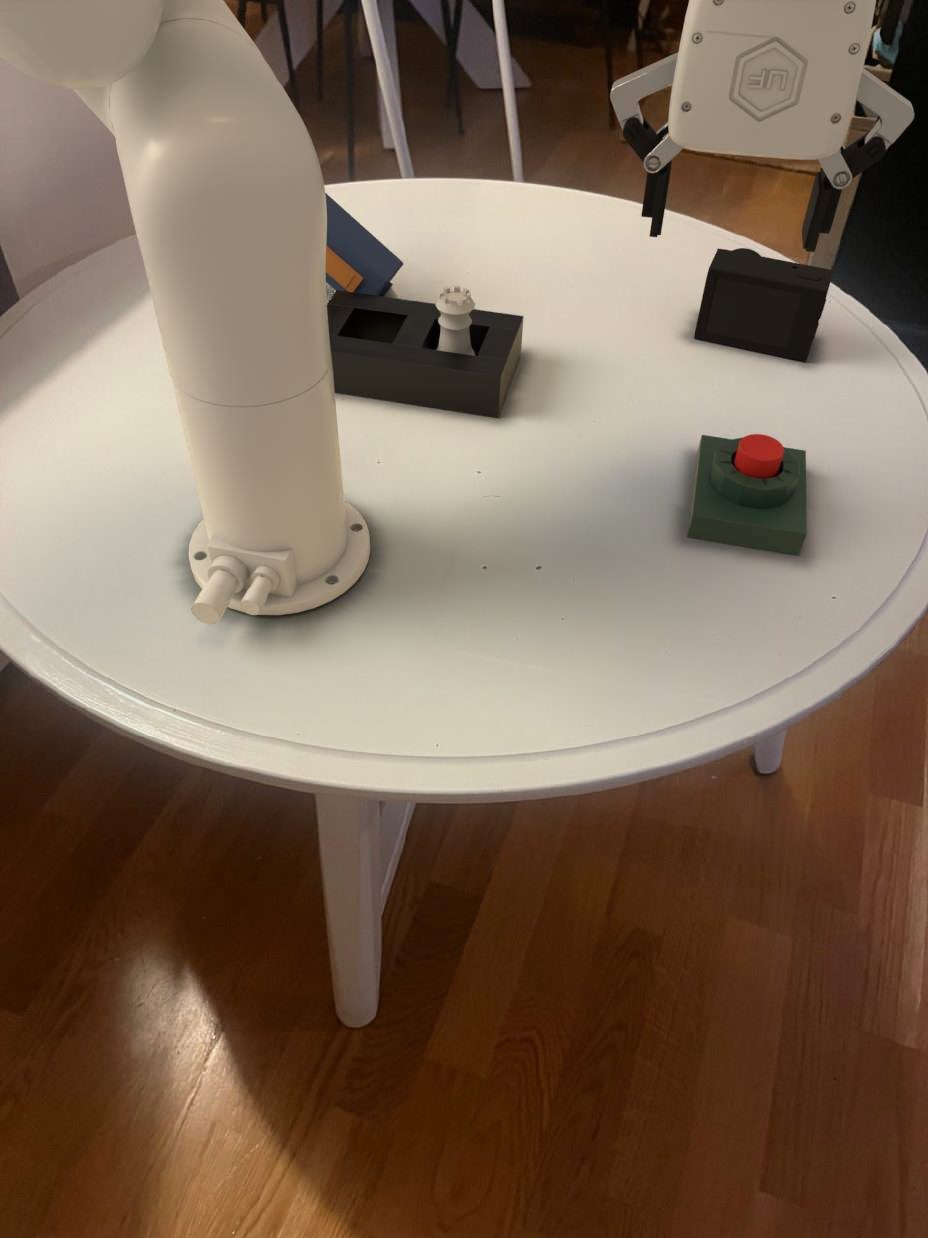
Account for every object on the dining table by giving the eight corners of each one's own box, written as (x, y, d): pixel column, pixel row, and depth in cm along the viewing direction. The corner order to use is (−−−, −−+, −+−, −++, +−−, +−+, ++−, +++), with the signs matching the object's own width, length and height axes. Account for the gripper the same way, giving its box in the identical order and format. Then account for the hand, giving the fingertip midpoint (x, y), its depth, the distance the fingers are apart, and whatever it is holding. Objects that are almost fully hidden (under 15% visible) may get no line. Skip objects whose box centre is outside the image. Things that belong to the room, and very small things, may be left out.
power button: (777, 483, 70) (784, 463, 69) (733, 475, 71) (738, 456, 69) (778, 456, 72) (784, 437, 71) (734, 449, 73) (740, 430, 72)
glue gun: (343, 403, 100) (423, 310, 89) (68, 201, 89) (123, 69, 79) (361, 369, 103) (440, 275, 93) (100, 171, 93) (156, 41, 83)
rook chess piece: (421, 387, 84) (420, 301, 78) (438, 360, 87) (438, 276, 81) (471, 396, 83) (473, 311, 77) (486, 369, 86) (489, 284, 80)
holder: (498, 418, 81) (500, 376, 78) (303, 387, 84) (298, 346, 81) (520, 356, 88) (523, 315, 85) (339, 329, 90) (336, 289, 87)
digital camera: (814, 333, 91) (837, 262, 86) (806, 362, 88) (829, 290, 83) (705, 311, 94) (720, 240, 89) (693, 338, 90) (708, 267, 85)
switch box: (798, 556, 70) (814, 514, 67) (686, 538, 71) (697, 495, 68) (798, 472, 77) (812, 431, 74) (696, 456, 78) (706, 415, 75)
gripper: (624, -78, 49) (590, 249, 61) (986, -60, 47) (874, 276, 59) (636, -111, 54) (603, 197, 66) (963, -96, 52) (865, 221, 64)
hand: (731, 234), depth 63 cm, fingers open, 9 cm apart
